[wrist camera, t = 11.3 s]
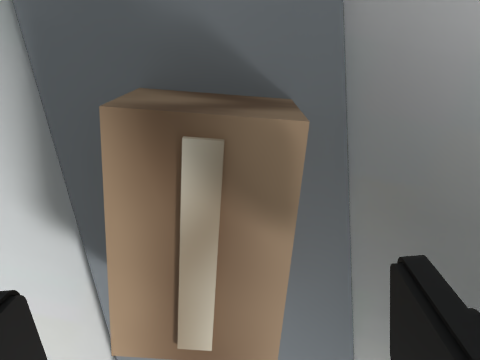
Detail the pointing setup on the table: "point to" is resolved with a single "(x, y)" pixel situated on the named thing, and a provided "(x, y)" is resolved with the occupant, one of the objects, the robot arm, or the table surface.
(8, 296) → the robot arm
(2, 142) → the table surface
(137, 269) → the card box
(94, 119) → the mat
